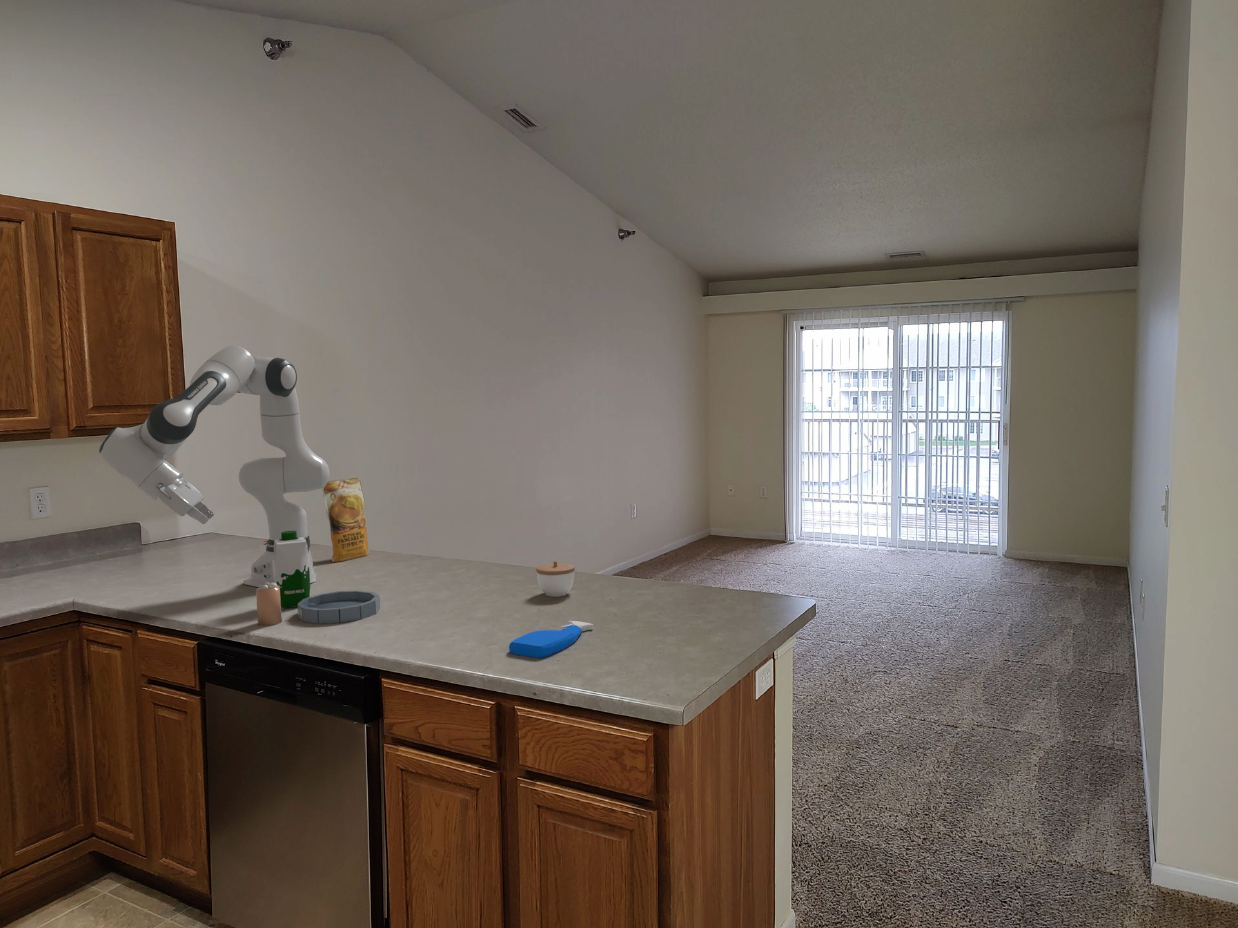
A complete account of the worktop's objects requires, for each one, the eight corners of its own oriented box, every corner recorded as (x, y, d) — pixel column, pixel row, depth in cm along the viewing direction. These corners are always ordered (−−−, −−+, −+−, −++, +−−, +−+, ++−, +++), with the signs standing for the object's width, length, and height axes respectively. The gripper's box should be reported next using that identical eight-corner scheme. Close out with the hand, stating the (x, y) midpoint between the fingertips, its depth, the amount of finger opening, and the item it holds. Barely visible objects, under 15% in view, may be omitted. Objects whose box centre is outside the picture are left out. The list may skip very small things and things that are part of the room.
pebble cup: (253, 624, 213) (250, 584, 212) (271, 618, 218) (268, 579, 217) (268, 626, 210) (266, 586, 209) (286, 620, 215) (284, 581, 214)
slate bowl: (282, 618, 218) (281, 605, 217) (339, 600, 235) (339, 588, 235) (339, 626, 209) (339, 612, 208) (394, 606, 226) (394, 594, 226)
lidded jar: (551, 588, 243) (550, 556, 242) (582, 591, 238) (581, 559, 237) (529, 596, 234) (528, 563, 233) (561, 600, 229) (560, 566, 228)
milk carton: (308, 598, 238) (304, 529, 236) (313, 605, 230) (308, 533, 228) (275, 603, 234) (271, 532, 232) (279, 610, 226) (274, 537, 224)
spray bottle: (544, 647, 179) (603, 620, 200) (503, 641, 184) (565, 615, 205) (544, 661, 179) (603, 632, 200) (504, 654, 184) (565, 627, 206)
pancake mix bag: (320, 562, 290) (315, 482, 287) (363, 552, 306) (359, 476, 304) (333, 563, 286) (328, 482, 284) (376, 553, 303) (372, 476, 300)
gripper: (164, 476, 194) (213, 515, 198) (179, 469, 214) (224, 505, 218) (143, 496, 193) (193, 535, 197) (161, 488, 213) (206, 523, 217)
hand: (209, 519), depth 208 cm, fingers open, 8 cm apart
